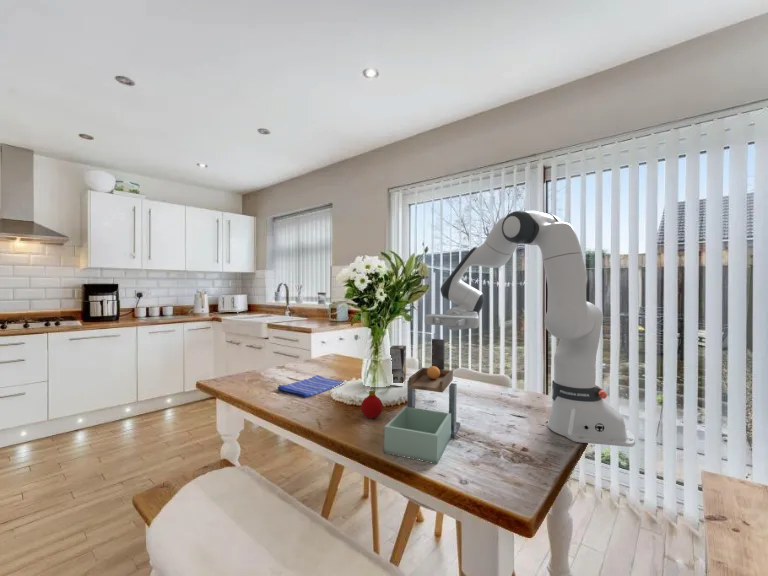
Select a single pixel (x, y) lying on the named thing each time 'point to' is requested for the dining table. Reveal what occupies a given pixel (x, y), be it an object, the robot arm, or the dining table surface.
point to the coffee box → (398, 363)
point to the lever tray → (438, 357)
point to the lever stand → (452, 405)
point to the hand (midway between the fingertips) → (447, 322)
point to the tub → (418, 434)
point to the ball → (433, 372)
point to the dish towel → (309, 386)
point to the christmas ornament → (372, 405)
